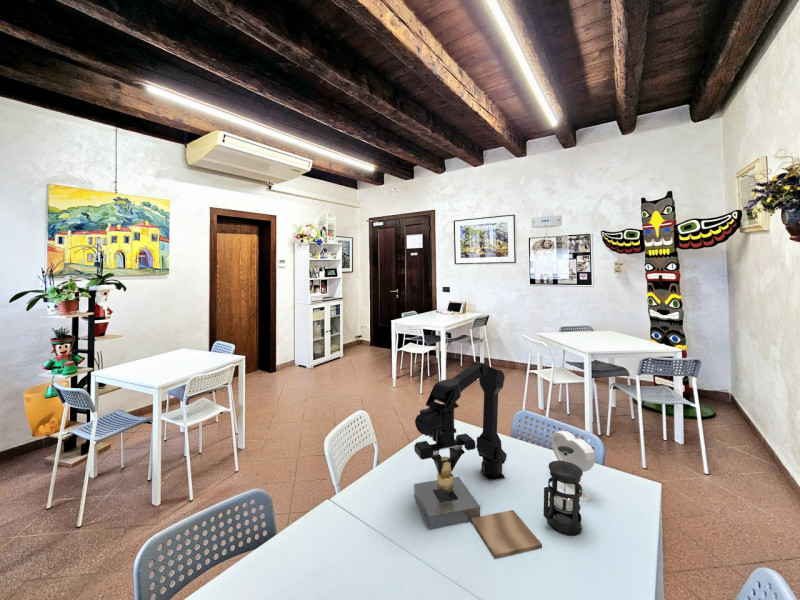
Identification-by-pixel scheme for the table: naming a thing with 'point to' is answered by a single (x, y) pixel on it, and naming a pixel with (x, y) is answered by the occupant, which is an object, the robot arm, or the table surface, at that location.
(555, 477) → the french press
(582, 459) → the heart sculpture
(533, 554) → the table surface
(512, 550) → the board
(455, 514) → the plate
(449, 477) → the knob
